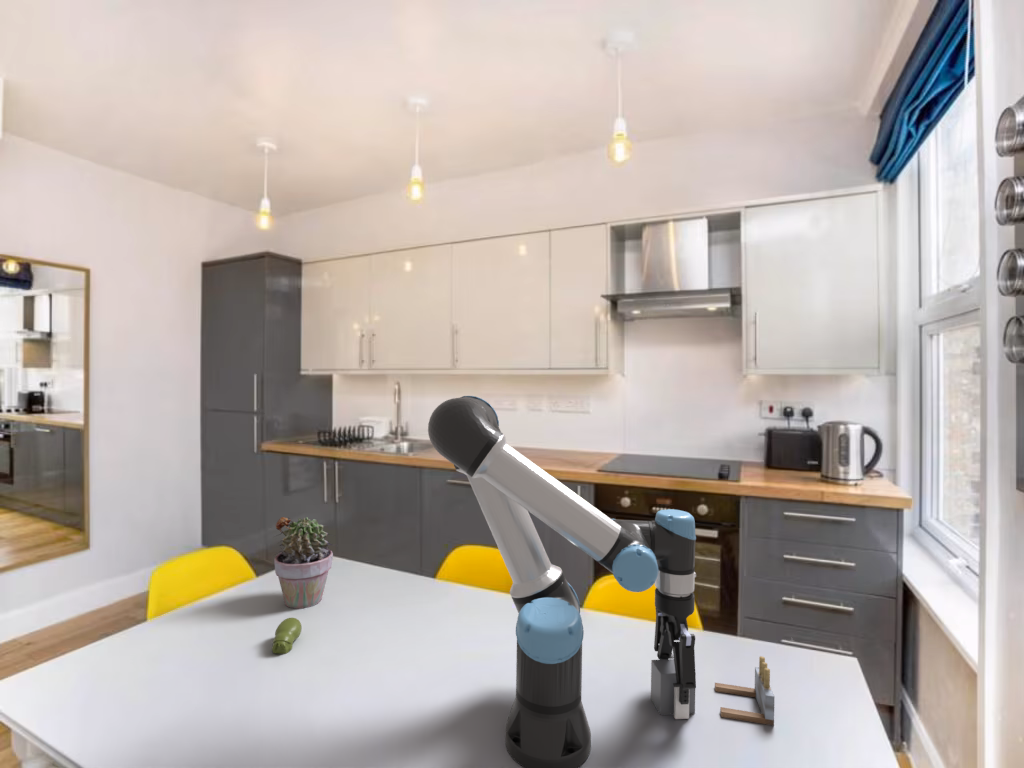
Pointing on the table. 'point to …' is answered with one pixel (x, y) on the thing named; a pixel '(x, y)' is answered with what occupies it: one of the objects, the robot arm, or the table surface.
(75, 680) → the table surface
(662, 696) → the plug block
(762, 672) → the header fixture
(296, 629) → the green rounded oblong piece
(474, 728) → the table surface
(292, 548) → the potted plant
